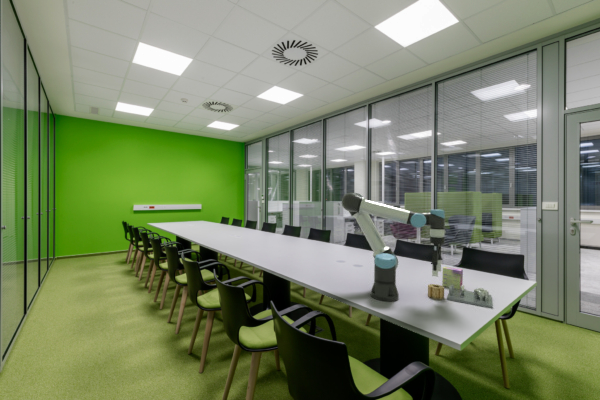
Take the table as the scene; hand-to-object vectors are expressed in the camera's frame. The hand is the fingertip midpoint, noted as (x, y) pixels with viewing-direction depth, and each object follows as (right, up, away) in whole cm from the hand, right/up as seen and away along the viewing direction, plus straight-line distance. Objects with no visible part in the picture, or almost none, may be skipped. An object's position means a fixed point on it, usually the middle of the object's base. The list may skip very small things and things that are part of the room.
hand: (436, 273), depth 156 cm
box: (+20, -14, +19) cm, 31 cm away
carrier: (+18, -14, -1) cm, 23 cm away
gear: (0, -13, 0) cm, 13 cm away
